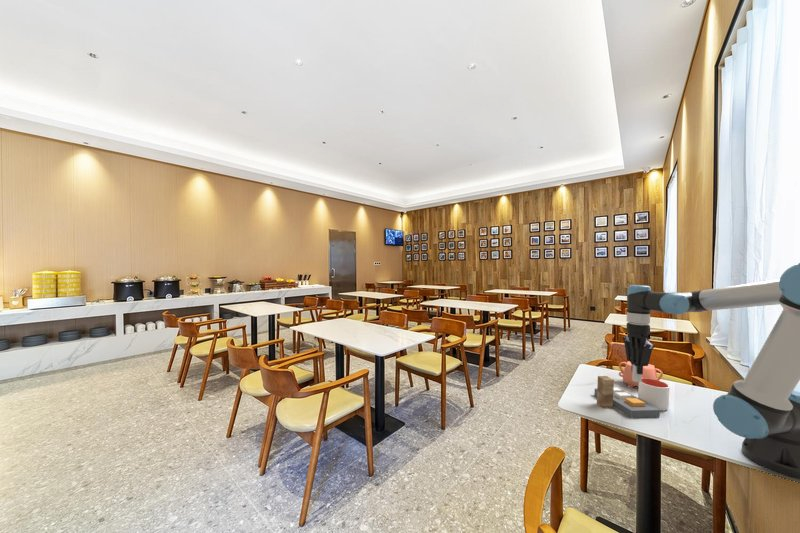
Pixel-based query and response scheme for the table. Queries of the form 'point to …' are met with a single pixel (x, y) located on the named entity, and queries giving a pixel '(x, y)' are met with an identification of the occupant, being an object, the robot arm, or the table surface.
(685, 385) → the table surface
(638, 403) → the orange rectangular block
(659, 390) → the cup
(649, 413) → the panel
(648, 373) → the teapot
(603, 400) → the oak post
